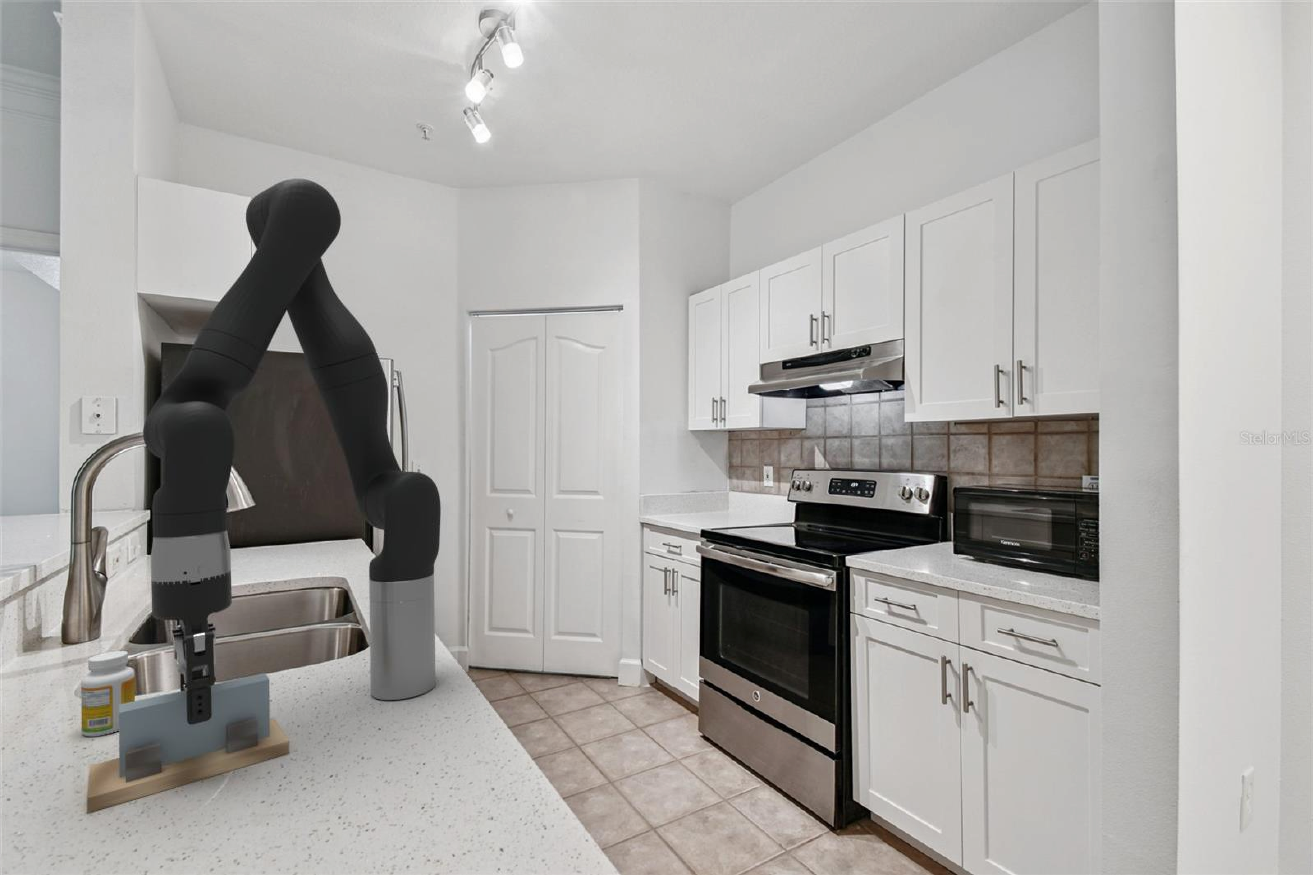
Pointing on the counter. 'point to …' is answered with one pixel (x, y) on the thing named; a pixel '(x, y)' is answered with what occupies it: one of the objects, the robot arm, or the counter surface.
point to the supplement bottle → (106, 692)
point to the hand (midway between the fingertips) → (195, 710)
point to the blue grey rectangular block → (186, 741)
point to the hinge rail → (180, 765)
